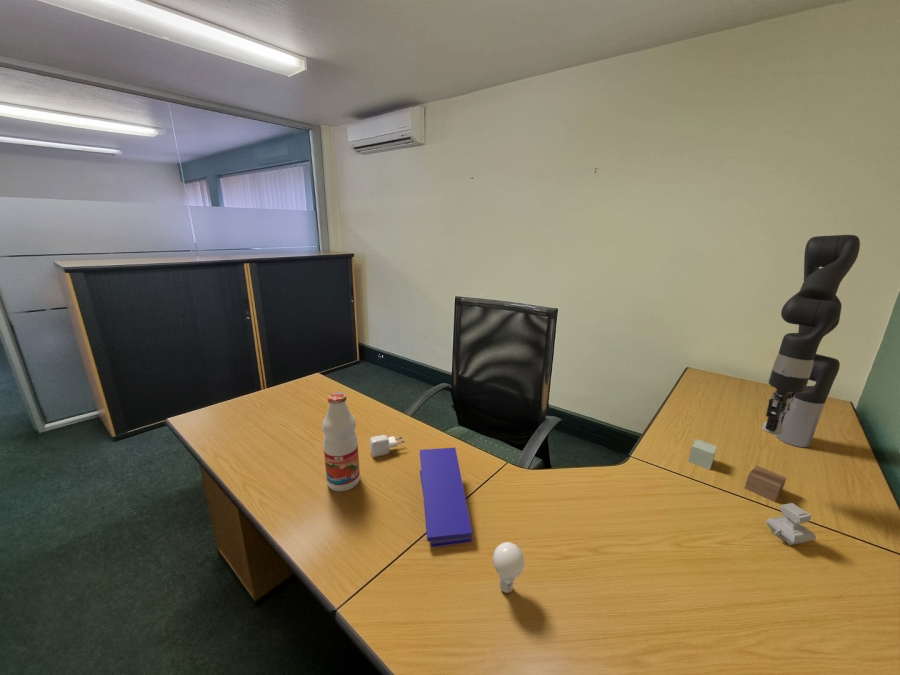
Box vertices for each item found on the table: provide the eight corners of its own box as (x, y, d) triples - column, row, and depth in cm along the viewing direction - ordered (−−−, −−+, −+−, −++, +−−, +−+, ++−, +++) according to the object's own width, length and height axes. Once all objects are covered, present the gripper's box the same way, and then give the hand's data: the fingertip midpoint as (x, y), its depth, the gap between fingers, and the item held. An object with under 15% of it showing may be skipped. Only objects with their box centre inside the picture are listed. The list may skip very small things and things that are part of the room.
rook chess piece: (785, 436, 100) (794, 410, 98) (767, 434, 101) (775, 408, 98) (775, 428, 104) (783, 403, 102) (757, 426, 105) (765, 401, 103)
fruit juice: (362, 471, 111) (357, 388, 103) (356, 492, 102) (350, 403, 94) (332, 471, 111) (324, 388, 103) (323, 492, 102) (313, 404, 94)
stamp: (787, 551, 85) (797, 523, 83) (759, 529, 91) (767, 502, 89) (816, 546, 87) (827, 518, 84) (787, 525, 93) (796, 498, 91)
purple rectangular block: (453, 470, 113) (454, 443, 110) (474, 544, 86) (476, 511, 83) (416, 474, 110) (416, 446, 108) (427, 551, 84) (427, 517, 81)
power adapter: (401, 444, 125) (401, 429, 124) (405, 451, 121) (405, 436, 119) (369, 451, 121) (368, 435, 119) (372, 459, 117) (371, 443, 115)
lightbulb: (488, 576, 78) (491, 535, 75) (517, 574, 78) (520, 534, 75) (494, 605, 72) (497, 562, 69) (525, 602, 72) (529, 560, 69)
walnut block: (752, 479, 110) (756, 465, 109) (781, 492, 105) (786, 477, 104) (744, 487, 106) (748, 473, 105) (774, 502, 101) (779, 487, 100)
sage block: (691, 454, 123) (695, 438, 121) (712, 461, 119) (717, 446, 117) (688, 461, 118) (691, 446, 117) (709, 470, 114) (714, 453, 113)
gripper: (781, 362, 104) (765, 415, 109) (764, 372, 96) (747, 428, 101) (816, 371, 98) (797, 426, 103) (801, 381, 90) (782, 441, 95)
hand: (773, 427), depth 102 cm, fingers closed on rook chess piece, 4 cm apart
